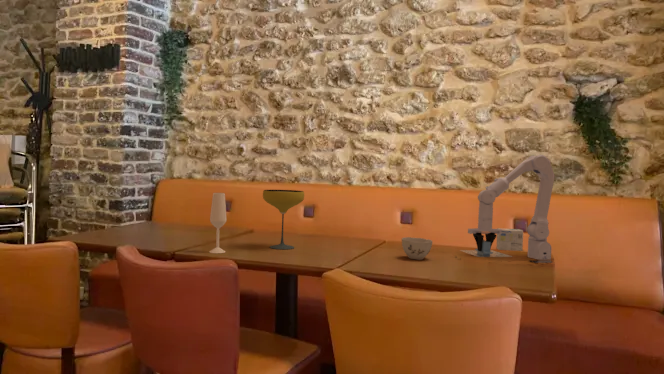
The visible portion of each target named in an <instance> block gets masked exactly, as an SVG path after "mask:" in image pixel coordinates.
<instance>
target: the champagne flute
mask: <svg viewBox="0 0 664 374" xmlns="http://www.w3.org/2000/svg"><path fill="white" fill-rule="evenodd" d="M210 207H211V209H210V215H209V221H210V224H211V225H212V226H213V227H214V228H216V234H215V236H216V237H215V239H216V244H215V247H214V248H212V249H211V250H209V253H211V254H224V253H226V250H224V249H222V248H221V247H220V229H221V228H222V227H224V225H225V224H226V223H227V219H228V218H227V206H226V194H225V192H213V193H212V198H211V206H210Z"/></svg>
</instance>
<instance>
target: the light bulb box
mask: <svg viewBox="0 0 664 374" xmlns="http://www.w3.org/2000/svg"><path fill="white" fill-rule="evenodd" d="M496 229H502V234H496V249H497V250H498V251H514V252H523V246H524V230H523V229H520V228H499V227H498V228H496Z"/></svg>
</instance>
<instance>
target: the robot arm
mask: <svg viewBox="0 0 664 374" xmlns="http://www.w3.org/2000/svg"><path fill="white" fill-rule="evenodd" d="M551 163H552V161H551V160H550V159H549V158H548V157H547V156H546V155H544V154H537V155H534V154H532V155H530V156H529V157H528V158H526V159H523V161H522V162H520V163H519V164H518V165H517V166H516V167H515V168H513V169H512V170H511V171H510V172H509V173H508V174H507V175H506V176H504V177H498V178H497V177H496V178H495V179H493V180H494V181H493V182H492V183H491V184H489V186H485V189H483V190H481V191H480V192H479V193H478V196H477V200H478V201H479V204H478V205H479V206H478V219H477V221H478V223H477V227H476V228H467V234H469V235H472V236H473V238H474V240H475V244H476V247H477V248H478V251H482V242H483V239H484V238H485V241H489V242H491V247H490V250H492V249H491V248H492V245H493V243H494V242H495V240H496V239H497V234H502V229H503V228H501V229H497V228H493V218H494V214H493V213H494V202H495V201H496V198H498V197H499V196H501V195H502V194H503V193H505V191H507V190H509V188H510V184H511V183H512V182H514V181H515V180H517V178H519V177H521V176H522V175H523V174H524V173H526V172H534V173H535V174H536V175H537V176H538V178H540V179H539V187H538V192H537V197H536V202H535V209H534V214H533V216H532V218H530V223H529V225H528V226H527V227H526V228H527V229H526V232H527V234H528V235H529V236H528V238H527V239H528V240H527V257H528V258H531V259H535V260H528V262H532V263H535V264H536V263H540V264H541V263H545V264H549V263H550V264H551V263H553V260H552V244H550V243H549V242H548V239H547V238H549V235H550V230H549V223H550V222H549V220H548V214H549V209H550V204H551V203H550V202H551V197H552V192H553V188H554V184H555V183H554V181H555V173H554V169H553V167H552V164H551ZM477 248H476V249H477Z"/></svg>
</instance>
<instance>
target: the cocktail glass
mask: <svg viewBox="0 0 664 374" xmlns="http://www.w3.org/2000/svg"><path fill="white" fill-rule="evenodd" d="M262 197H263V198H262V199H263V200H264V201H265V202H266V203H268V204H269V205H271V206H273V207H274V208H275V209H277V211H279V213H280V214H281V219H282V220H281V238H280V243H279V244H275V245H269V248H270V249H271V250H293V249H295V246H293V245H288V244H285V241H284V220H285V219H284V218H285V217H284V215H285V214H286V213H287V211H289V210H290V209H292V208H293V207H295V206H297V205H299V204H301V203H302V202H303V201H304V199H305V191H303V190H295V189H291V190H290V189H264V190H263V191H262Z"/></svg>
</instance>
